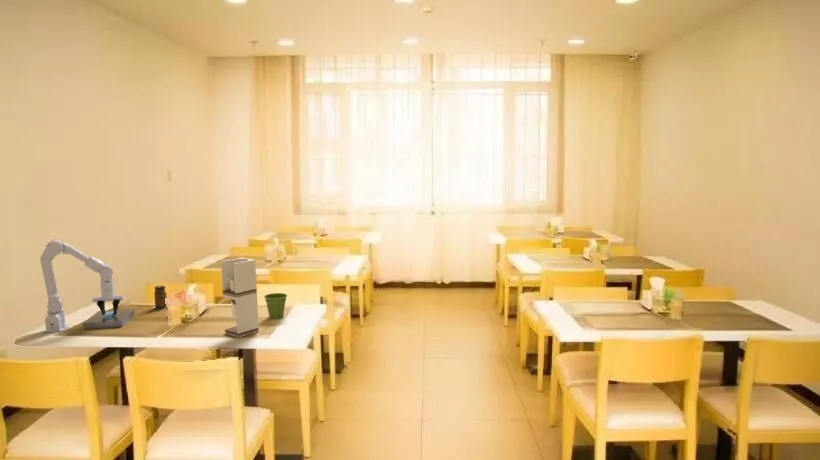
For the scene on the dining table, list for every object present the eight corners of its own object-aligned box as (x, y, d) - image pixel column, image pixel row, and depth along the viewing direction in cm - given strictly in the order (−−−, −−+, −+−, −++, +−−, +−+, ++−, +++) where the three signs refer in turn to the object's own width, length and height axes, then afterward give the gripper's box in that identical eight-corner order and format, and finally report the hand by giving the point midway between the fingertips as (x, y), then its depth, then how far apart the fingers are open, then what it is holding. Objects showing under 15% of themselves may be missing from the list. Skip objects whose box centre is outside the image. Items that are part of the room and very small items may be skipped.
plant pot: (275, 321, 303) (274, 299, 301) (260, 317, 310) (259, 296, 309) (293, 315, 312) (292, 294, 311) (278, 312, 320) (277, 291, 318)
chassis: (122, 326, 298) (122, 320, 298) (83, 329, 295) (83, 323, 295) (134, 314, 319) (134, 309, 319) (98, 316, 316) (98, 311, 316)
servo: (110, 324, 302) (110, 316, 302) (102, 324, 302) (101, 316, 301) (117, 318, 313) (117, 310, 312) (109, 318, 312) (109, 310, 312)
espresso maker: (245, 327, 293) (241, 257, 288) (258, 331, 286) (255, 259, 281) (225, 333, 284) (220, 261, 279) (238, 337, 278) (234, 263, 273)
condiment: (165, 305, 338) (164, 284, 336) (170, 308, 331) (169, 287, 329) (152, 307, 333) (150, 286, 331) (157, 310, 326) (155, 289, 325)
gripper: (124, 286, 310) (127, 311, 312) (94, 287, 307) (97, 313, 309) (120, 289, 303) (122, 315, 305) (89, 290, 301) (92, 317, 303)
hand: (109, 314), depth 307 cm, fingers open, 5 cm apart
